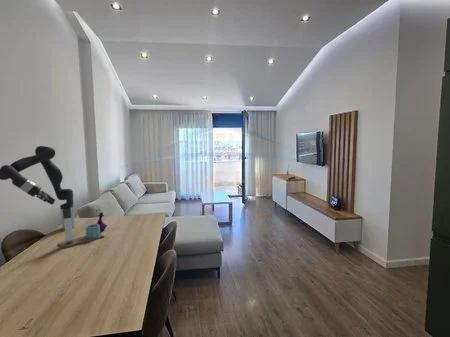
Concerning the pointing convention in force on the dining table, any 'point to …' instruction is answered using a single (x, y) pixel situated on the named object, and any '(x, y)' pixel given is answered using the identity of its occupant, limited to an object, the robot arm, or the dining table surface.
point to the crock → (92, 231)
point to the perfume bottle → (102, 225)
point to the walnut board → (78, 241)
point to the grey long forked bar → (68, 225)
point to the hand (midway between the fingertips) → (53, 202)
